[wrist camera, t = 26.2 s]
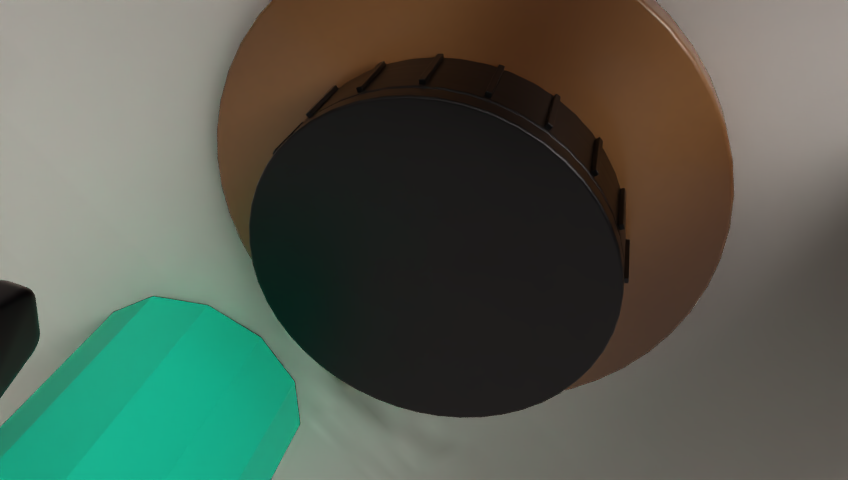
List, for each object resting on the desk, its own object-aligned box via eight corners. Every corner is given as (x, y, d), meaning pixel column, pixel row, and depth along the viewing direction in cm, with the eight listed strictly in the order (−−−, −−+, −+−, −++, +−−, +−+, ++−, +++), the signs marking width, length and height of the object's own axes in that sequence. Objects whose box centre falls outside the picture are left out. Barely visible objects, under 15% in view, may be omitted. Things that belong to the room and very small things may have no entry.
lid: (614, 27, 12) (608, 66, 10) (640, 358, 15) (639, 426, 13) (242, 78, 14) (191, 116, 12) (337, 356, 17) (306, 415, 15)
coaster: (842, 17, 11) (854, 32, 11) (614, 429, 17) (613, 455, 16) (250, -151, 12) (229, -147, 12) (222, 294, 18) (206, 314, 17)
